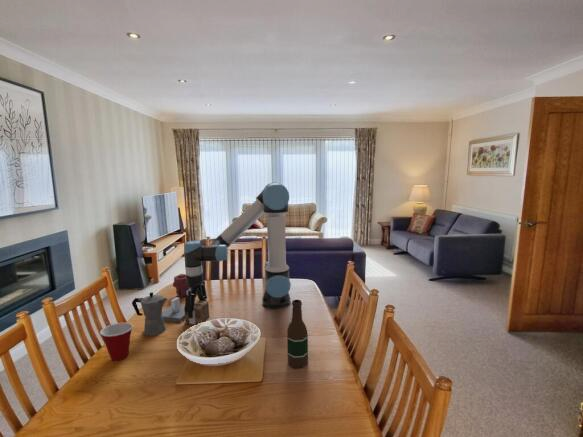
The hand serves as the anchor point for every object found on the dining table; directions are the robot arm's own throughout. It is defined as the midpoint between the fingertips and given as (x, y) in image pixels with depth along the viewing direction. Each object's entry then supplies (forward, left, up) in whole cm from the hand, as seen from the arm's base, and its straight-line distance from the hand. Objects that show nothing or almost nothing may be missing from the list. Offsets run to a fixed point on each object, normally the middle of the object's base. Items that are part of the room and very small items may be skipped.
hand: (197, 319), depth 139 cm
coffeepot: (+15, +13, 0) cm, 20 cm away
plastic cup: (+14, +32, 0) cm, 35 cm away
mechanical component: (+24, -24, 0) cm, 34 cm away
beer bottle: (-54, +21, 0) cm, 58 cm away
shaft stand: (+13, -2, 0) cm, 13 cm away
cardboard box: (0, 0, 0) cm, 0 cm away
